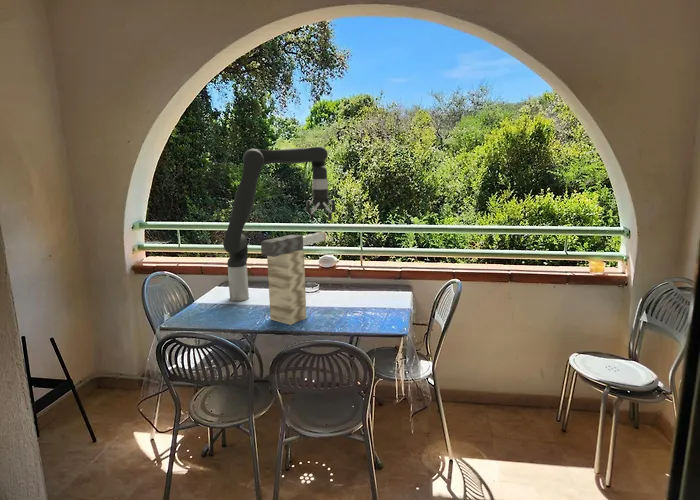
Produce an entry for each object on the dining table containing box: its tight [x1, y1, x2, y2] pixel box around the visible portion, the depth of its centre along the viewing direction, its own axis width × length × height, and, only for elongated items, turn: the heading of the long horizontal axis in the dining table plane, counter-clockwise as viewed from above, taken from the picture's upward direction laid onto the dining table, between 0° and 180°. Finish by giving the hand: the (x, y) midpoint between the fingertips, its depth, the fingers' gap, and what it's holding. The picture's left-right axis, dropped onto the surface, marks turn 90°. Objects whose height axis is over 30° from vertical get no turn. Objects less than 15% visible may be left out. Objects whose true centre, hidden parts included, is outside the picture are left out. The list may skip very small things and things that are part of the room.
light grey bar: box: [302, 231, 327, 247], centre depth 202 cm, size 24×4×4 cm, turn 144°
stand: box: [260, 234, 307, 326], centre depth 193 cm, size 19×12×36 cm, turn 144°
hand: (321, 221), depth 225 cm, fingers open, 8 cm apart
